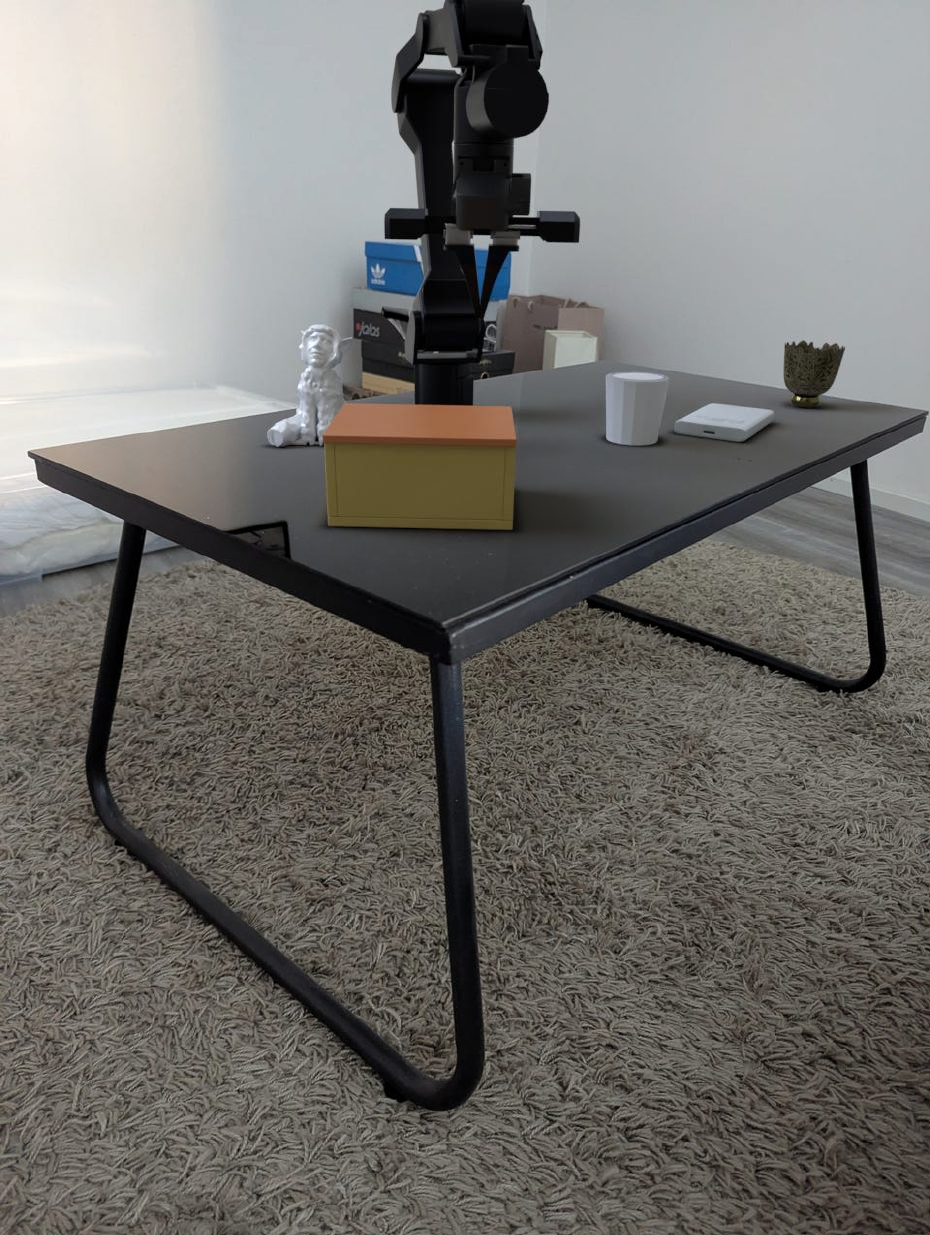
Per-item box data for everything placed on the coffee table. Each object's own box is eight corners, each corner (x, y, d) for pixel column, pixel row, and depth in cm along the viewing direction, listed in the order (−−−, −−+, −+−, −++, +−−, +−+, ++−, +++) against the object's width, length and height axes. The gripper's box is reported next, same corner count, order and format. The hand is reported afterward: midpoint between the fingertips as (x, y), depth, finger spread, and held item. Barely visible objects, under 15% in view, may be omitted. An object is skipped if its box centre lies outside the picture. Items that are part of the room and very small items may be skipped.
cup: (839, 405, 121) (851, 343, 118) (827, 414, 115) (839, 349, 112) (783, 398, 124) (793, 338, 121) (768, 407, 119) (778, 344, 115)
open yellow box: (512, 530, 71) (516, 445, 68) (327, 526, 71) (323, 441, 68) (508, 489, 81) (511, 413, 79) (347, 485, 81) (344, 410, 79)
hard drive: (773, 423, 109) (744, 443, 100) (707, 415, 113) (673, 433, 103) (775, 410, 109) (746, 428, 99) (708, 402, 112) (674, 419, 103)
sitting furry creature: (265, 447, 94) (256, 327, 89) (290, 429, 102) (283, 318, 97) (354, 451, 93) (350, 331, 88) (371, 433, 101) (369, 321, 96)
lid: (516, 447, 67) (516, 439, 67) (322, 443, 68) (322, 435, 67) (511, 413, 79) (511, 406, 78) (344, 409, 79) (344, 403, 78)
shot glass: (662, 448, 96) (670, 382, 94) (598, 444, 98) (603, 379, 95) (663, 434, 103) (669, 372, 100) (602, 431, 104) (607, 369, 101)
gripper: (376, 137, 78) (380, 325, 84) (592, 141, 78) (579, 329, 84) (388, 146, 88) (391, 313, 94) (579, 149, 88) (568, 317, 94)
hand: (479, 318), depth 91 cm, fingers closed
